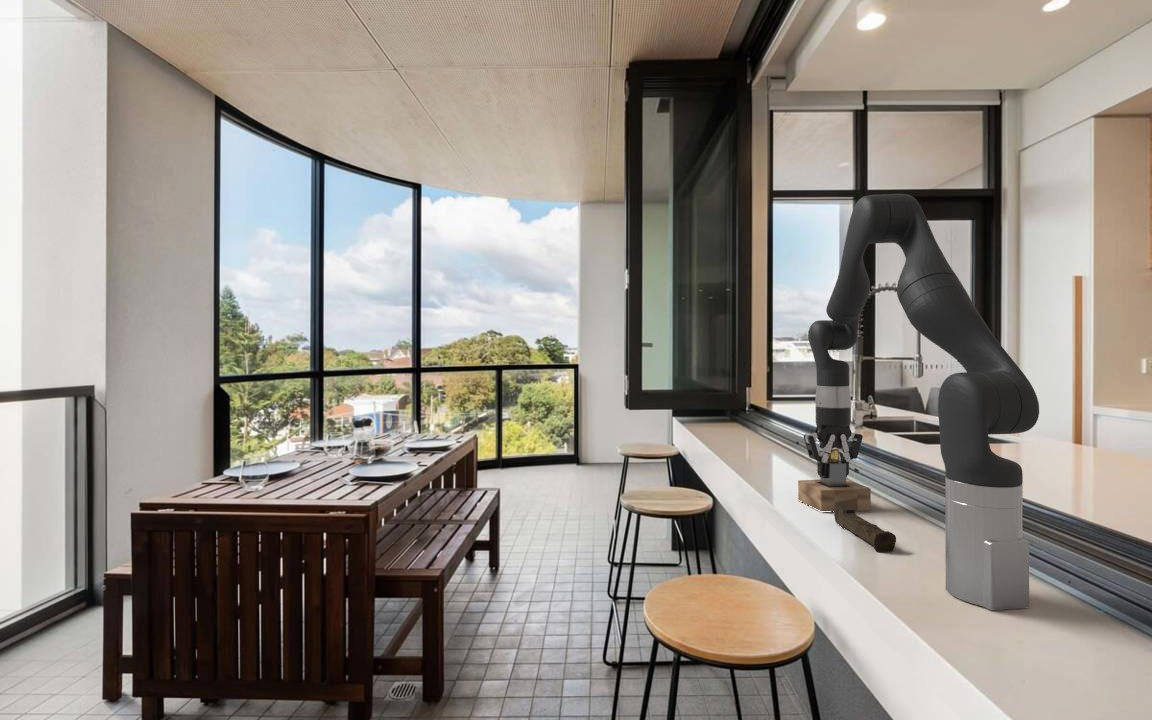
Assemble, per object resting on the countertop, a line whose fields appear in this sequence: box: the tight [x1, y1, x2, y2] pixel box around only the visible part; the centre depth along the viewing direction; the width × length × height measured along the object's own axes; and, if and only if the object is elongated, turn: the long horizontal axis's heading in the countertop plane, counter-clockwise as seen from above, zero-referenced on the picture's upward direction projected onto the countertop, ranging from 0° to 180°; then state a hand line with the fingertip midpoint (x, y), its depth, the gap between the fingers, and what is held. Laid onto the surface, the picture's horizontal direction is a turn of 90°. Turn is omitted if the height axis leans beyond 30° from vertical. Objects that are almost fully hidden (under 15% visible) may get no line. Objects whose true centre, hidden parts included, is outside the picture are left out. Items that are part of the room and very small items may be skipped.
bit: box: [819, 448, 847, 488], centre depth 130 cm, size 4×4×12 cm
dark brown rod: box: [833, 503, 897, 553], centre depth 109 cm, size 19×4×5 cm, turn 179°
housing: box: [797, 478, 872, 512], centre depth 130 cm, size 10×12×5 cm
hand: (833, 477), depth 130 cm, fingers open, 4 cm apart
